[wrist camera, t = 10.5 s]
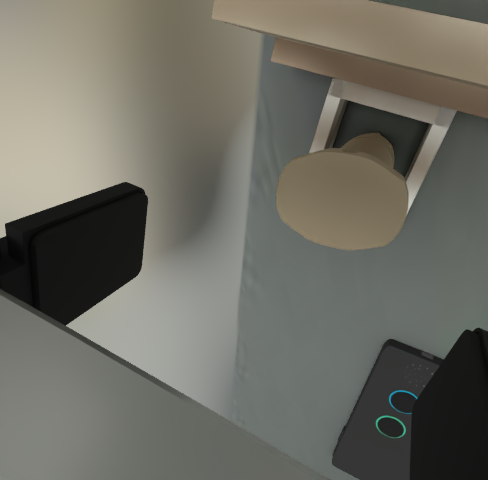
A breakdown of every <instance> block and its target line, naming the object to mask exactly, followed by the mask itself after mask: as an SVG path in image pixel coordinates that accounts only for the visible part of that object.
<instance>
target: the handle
mask: <svg viewBox="0 0 488 480" xmlns="http://www.w3.org/2000/svg"><path fill="white" fill-rule="evenodd" d="M393 167H394V151H393V146H392V144H391V143H390V142H389V141H388V140H387V139H386V138H384V137H383V136H381V134H380V133H378V132H372V133H367V134H362V135H359V136H357V137H354V138H353V139H351V140H349V141H348V142H347V143H346V144H344V145H343V146H342V147H341V148H329V149H324V150H320V151H316V152H312V153H309V154H306V155H302V156H299V157H296V158H294V159H293V160H291V161H290V162H289V163H288V164H287V165H286V166H285V168H284V169H283V171H282V172H281V175H280V177H279V180H278V184H277V189H276V204H277V209H278V213H279V215H280V217H281V219H282V221H283V222H284V223H286V224H287V225H288V226H290V227H291V228H292V229H293V230H295V231H296V232H298V233H299V234H300V235H302V236H303V237H305V238H307V239H308V240H310V241H313V242H315V243H318V244H322V245H326V246H329V247H333V248H337V249H343V250H361V249H369V248H375V247H381V246H386V245H387V244H388V243H390V242H391V241H392V240H393V239H394V238H395V237H396V236H397V235H398V233H399V231H400V230H401V228H402V226H403V224H404V221H405V219H406V215H407V210H408V201H409V192H408V187H407V184H406V181H405V179H404V176H402V175H401V174H400V173H398V172H397V171H396V170H394V169H393Z"/></svg>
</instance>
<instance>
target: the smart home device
mask: <svg viewBox="0 0 488 480" xmlns="http://www.w3.org/2000/svg"><path fill="white" fill-rule="evenodd" d="M442 362H443V359H441V358H438V357H436V356H433V355H431V354H428V353H426V352H423V351H421V350H418V349H416V348H413V347H411V346H408V345H406V344H403V343H401V342H398V341H396V340H393V339H389V340H387V341H386V342H385V344H384V345H383V347H382V349H381V352H380V354H379V356H378V358H377V360H376V362H375V364H374V367H373V369H372V371H371V373H370V375H369V377H368V379H367V382H366V384H365V386H364V388H363V390H362V392H361V394H360V397H359V399H358V401H357V403H356V405H355V407H354V409H353V412H352V414H351V416H350V418H349V420H348V422H347V424H346V427H344V428H343V430H342V433H341V435H340V437H339V439H338V444H337V446H336V448H335V450H334V454H333V458H332V464H333V465H334V466H335V467H337V468H339V469H341V470H343V471H345V472H346V473H348V474H350V475H352V476H354V477H356V478H358V479H360V480H409V479H410V448H411V418H412V409H413V406H414V403H415V401H416V400H417V398H418V397H419V395H420V394H421V392H422V391H423V389H424V388H425V386H426V385H427V384H428V382H429V381H430V379H431V378H432V376H433V375H434V373H435V372H436V370H437V369H438V368H439V366H440V365H441V363H442Z"/></svg>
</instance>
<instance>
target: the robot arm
mask: <svg viewBox="0 0 488 480" xmlns="http://www.w3.org/2000/svg"><path fill="white" fill-rule="evenodd" d="M147 205H148V197H147V196H146V195H145V192H144V190H143V189H142V188H140V187H137V186H135V185H133V184H130V183H127V182H124V183H121V184H118V185H115V186H112V187H109V188H106V189H103V190H101V191H98V192H95V193H92V194H89V195H86V196H83V197H80V198H78V199H75V200H72V201H69V202H66V203H63V204H60V205H57V206H55V207H52V208H49V209H46V210H43V211H40V212H38V213H35V214H32V215H29V216H26V217H23V218H20V219H17V220H15V221H12V222H9V223H6V224H5V229H6V236H5V237H3V238H0V480H330V479H328V478H327V477H325V476H323V475H321V474H320V473H318V472H316V471H315V470H313V469H311V468H309V467H308V466H306V465H304V464H303V463H301V462H299V461H298V460H296V459H294V458H292V457H291V456H289V455H287V454H286V453H284V452H282V451H280V450H279V449H277V448H275V447H274V446H272V445H270V444H269V443H267V442H265V441H263V440H262V439H260V438H258V437H257V436H255V435H253V434H251V433H250V432H248V431H246V430H245V429H243V428H241V427H240V426H238V425H236V424H234V423H233V422H231V421H229V420H228V419H226V418H224V417H222V416H221V415H219V414H217V413H216V412H214V411H212V410H210V409H209V408H207V407H205V406H203V405H202V404H200V403H198V402H197V401H195V400H193V399H192V398H190V397H188V396H186V395H184V394H183V393H181V392H179V391H178V390H176V389H174V388H172V387H171V386H169V385H167V384H166V383H164V382H162V381H160V380H159V379H157V378H155V377H154V376H152V375H150V374H148V373H147V372H145V371H143V370H141V369H140V368H138V367H136V366H135V365H133V364H131V363H129V362H128V361H126V360H124V359H122V358H121V357H119V356H117V355H115V354H114V353H112V352H110V351H109V350H107V349H105V348H103V347H101V346H100V345H98V344H96V343H94V342H93V341H91V340H89V339H88V338H86V337H84V336H82V335H80V334H79V333H77V332H75V331H74V330H72V329H70V328H68V327H66V325H67V324H69V323H70V322H71V321H73V320H74V319H76V318H77V317H79V316H80V315H81V314H83V313H84V312H86V311H87V310H89V309H90V308H92V307H93V306H94V305H96V304H97V303H99V302H100V301H102V300H103V299H104V298H106V297H107V296H109V295H110V294H112V293H113V292H115V291H116V290H118V289H119V288H120V287H122V286H123V285H125V284H126V283H128V282H129V281H130V280H132V279H133V278H135V277H136V276H137V275H138V274H139V272H140V270H141V267H142V259H143V248H144V237H145V227H146V226H145V225H146V216H147ZM409 480H488V331H485V330H483V329H481V328H476V329H475V330H474V331H473V332H472V331H470V330H468V329H467V330H465V331H464V332H463V333H462V334H461V336H460V337H459V339H458V340H457V341H456V343H455V344H454V346H453V347H452V349H451V350H450V352H449V353H448V355H447V356H446V357H445V359H444V360H443V362H442V363H441V365H440V366H439V368H438V369H437V370H436V372H435V373H434V375H433V376H432V378H431V379H430V381H429V382H428V384H427V385H426V386H425V388H424V389H423V391H422V392H421V394H420V395H419V397H418V398H417V400H416V401H415V403H414V406H413V409H412V418H411V448H410V479H409Z"/></svg>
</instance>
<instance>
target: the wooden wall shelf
mask: <svg viewBox="0 0 488 480" xmlns="http://www.w3.org/2000/svg"><path fill="white" fill-rule="evenodd" d="M212 19H215V20H218V21H222V22H225V23H229V24H232V25H235V26H239V27H242V28H246V29H249V30H253V31H256V32H259V33H263V34H266V35H270V36H273V37H276V39H275V44H274V48H273V53H272V57H271V61H273V62H277V63H280V64H284V65H288V66H292V67H295V68H299V69H303V70H307V71H310V72H314V73H318V74H322V75H326V76H329V77H333V78H332V82H331V85H330V88H329V91H328V94H327V98H326V101H325V104H324V107H323V111H322V114H321V117H320V120H319V123H318V127H317V130H316V133H315V136H314V140H313V143H312V146H311V149H310V152H309V153H312V152H316V151H320V150H324V149H329V148H332V147H333V144H334V141H335V138H336V135H337V132H338V129H339V126H340V123H341V120H342V117H343V115H344V112H345V109H346V106H347V103H348V101H352V102H356V103H359V104H363V105H366V106H370V107H373V108H377V109H381V110H384V111H388V112H391V113H395V114H398V115H402V116H405V117H409V118H413V119H416V120H420V121H423V122H427V123H429V126H428V128H427V130H426V132H425V134H424V137H423V139H422V141H421V143H420V145H419V148H418V150H417V152H416V154H415V156H414V159H413V161H412V163H411V165H410V167H409V170H408V172H407V174H406V176H405V178H404V179H405V181H406V184H407V187H408V192H409V201H408V210H407V213H408V211H409V209H410V207H411V205H412V203H413V201H414V198H415V196H416V194H417V192H418V190H419V188H420V186H421V184H422V182H423V180H424V178H425V176H426V174H427V172H428V170H429V167H430V165H431V163H432V161H433V159H434V157H435V155H436V153H437V151H438V149H439V147H440V145H441V143H442V141H443V138H444V136H445V134H446V132H447V130H448V128H449V126H450V124H451V122H452V120H453V118H454V116H455V114H456V112H457V111H461V112H464V113H468V114H472V115H476V116H479V117H483V118H487V119H488V24H483V23H478V22H473V21H468V20H463V19H459V18H454V17H449V16H444V15H439V14H434V13H429V12H424V11H419V10H414V9H409V8H404V7H399V6H394V5H389V4H384V3H379V2H374V1H369V0H215V1H214V7H213V14H212Z"/></svg>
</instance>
